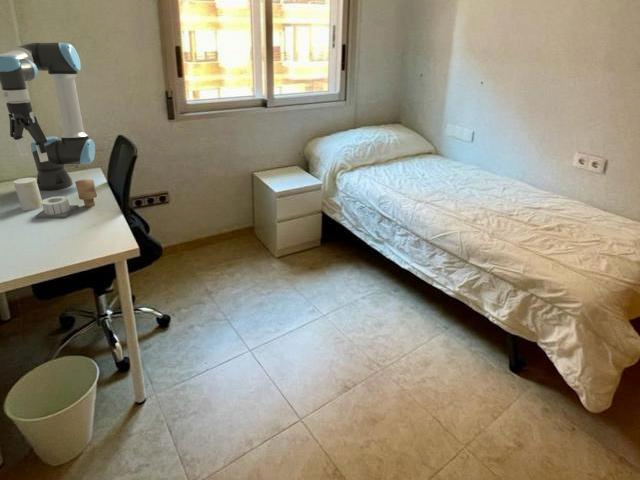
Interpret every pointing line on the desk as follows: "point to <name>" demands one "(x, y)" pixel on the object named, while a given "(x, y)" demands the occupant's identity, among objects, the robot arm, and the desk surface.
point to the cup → (28, 193)
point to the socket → (56, 208)
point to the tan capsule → (86, 191)
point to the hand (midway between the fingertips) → (34, 158)
